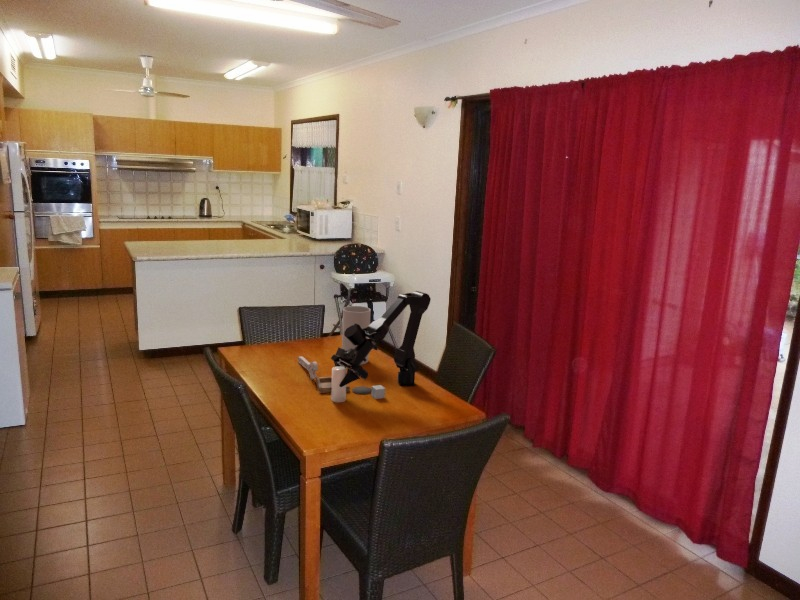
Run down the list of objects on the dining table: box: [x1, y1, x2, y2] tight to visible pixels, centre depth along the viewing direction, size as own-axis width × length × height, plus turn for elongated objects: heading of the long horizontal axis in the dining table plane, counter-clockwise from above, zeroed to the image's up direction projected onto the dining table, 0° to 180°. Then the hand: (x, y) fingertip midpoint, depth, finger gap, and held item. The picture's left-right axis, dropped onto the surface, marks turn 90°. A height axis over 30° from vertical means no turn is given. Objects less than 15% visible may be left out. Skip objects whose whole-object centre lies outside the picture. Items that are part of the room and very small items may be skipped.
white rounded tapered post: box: [330, 366, 347, 403], centre depth 221 cm, size 6×6×12 cm
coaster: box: [351, 386, 372, 395], centre depth 233 cm, size 8×8×1 cm
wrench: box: [297, 355, 319, 380], centre depth 250 cm, size 8×2×30 cm
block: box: [370, 384, 386, 400], centre depth 227 cm, size 4×4×4 cm
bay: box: [315, 376, 350, 394], centre depth 235 cm, size 12×12×2 cm
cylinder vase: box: [341, 305, 372, 366], centre depth 266 cm, size 12×12×25 cm
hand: (335, 384), depth 220 cm, fingers closed on white rounded tapered post, 6 cm apart
